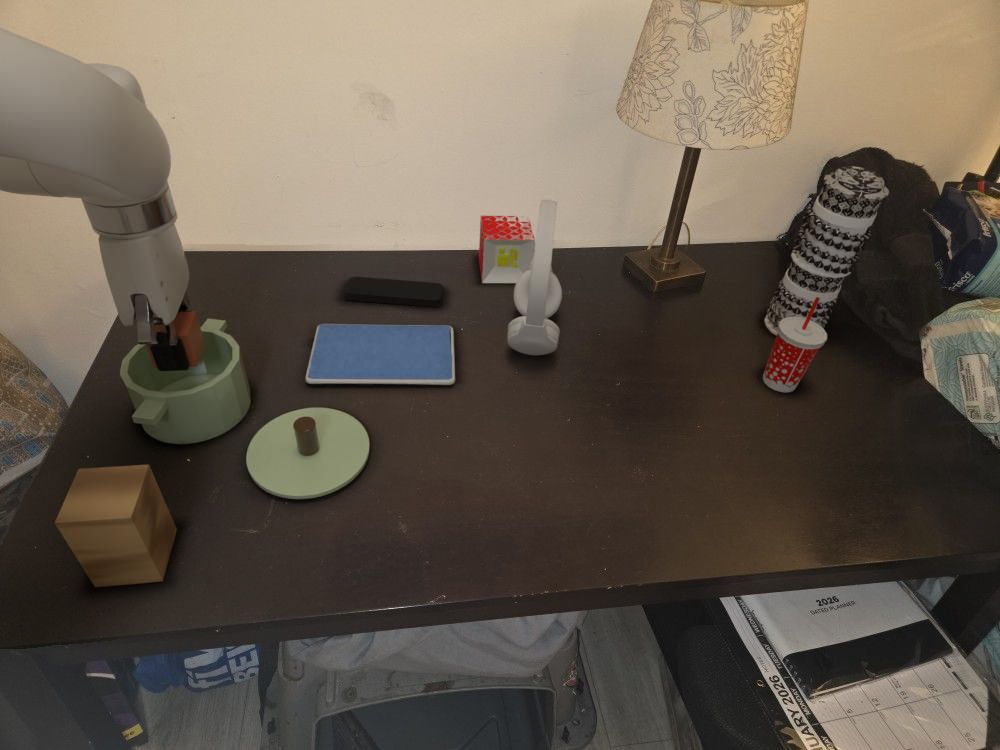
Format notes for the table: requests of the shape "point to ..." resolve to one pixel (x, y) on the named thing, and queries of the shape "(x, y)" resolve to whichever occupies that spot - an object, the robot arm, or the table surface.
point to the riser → (118, 525)
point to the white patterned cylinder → (828, 245)
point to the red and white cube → (505, 248)
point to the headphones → (538, 293)
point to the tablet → (382, 354)
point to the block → (185, 336)
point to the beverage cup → (793, 351)
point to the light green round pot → (189, 390)
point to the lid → (308, 453)
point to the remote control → (394, 291)
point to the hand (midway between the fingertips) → (179, 353)
